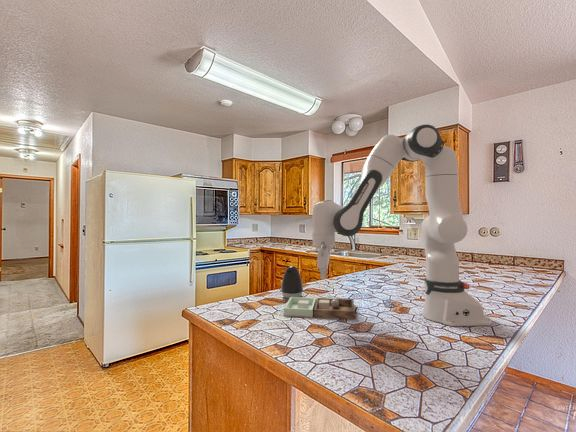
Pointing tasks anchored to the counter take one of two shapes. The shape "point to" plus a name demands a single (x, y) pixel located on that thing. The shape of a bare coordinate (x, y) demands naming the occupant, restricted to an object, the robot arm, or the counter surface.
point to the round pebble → (334, 303)
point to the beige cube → (324, 304)
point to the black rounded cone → (291, 283)
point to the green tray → (293, 309)
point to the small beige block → (303, 304)
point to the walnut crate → (336, 309)
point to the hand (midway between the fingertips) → (323, 276)
